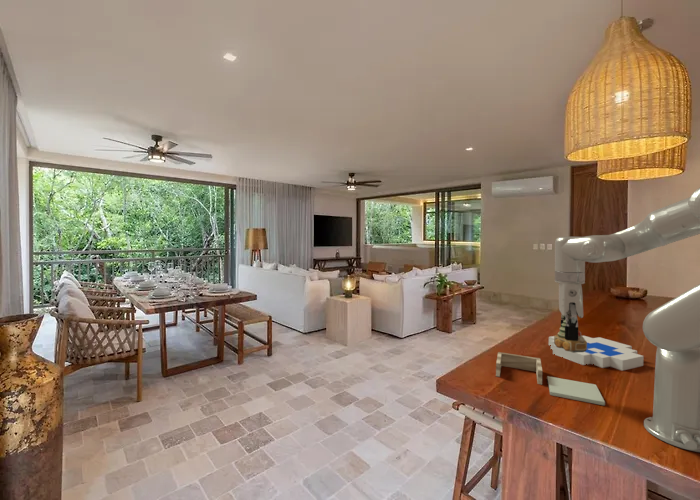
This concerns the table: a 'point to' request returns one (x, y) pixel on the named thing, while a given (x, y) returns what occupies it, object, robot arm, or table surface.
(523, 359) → the shelf bay
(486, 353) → the table surface
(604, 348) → the pixel art tile
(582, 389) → the tile mat
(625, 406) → the table surface
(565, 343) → the ornament
